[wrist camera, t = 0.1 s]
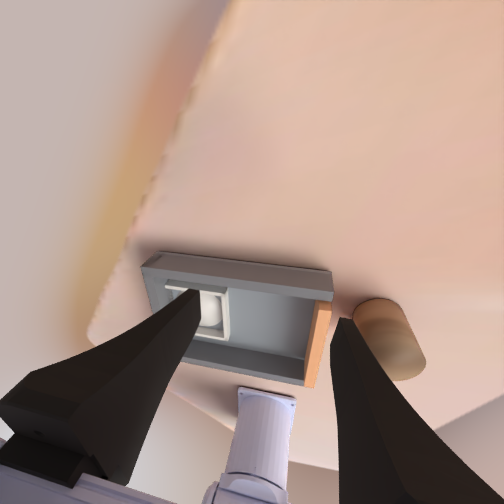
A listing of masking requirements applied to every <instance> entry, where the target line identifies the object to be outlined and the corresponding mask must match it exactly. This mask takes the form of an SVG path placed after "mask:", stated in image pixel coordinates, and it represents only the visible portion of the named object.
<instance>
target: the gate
mask: <svg viewBox="0 0 504 504" xmlns="http://www.w3.org/2000/svg"><path fill="white" fill-rule="evenodd" d="M331 314H332V307H331V302H329V301H322V300H315V305H314V311H313V316H312V322H311V327H310V333H309V338H308V344H307V349H306V355H305V360H304V386H305V387H309V388H314V386H315V382H316V378H317V373H318V369H319V365H320V361H321V356H322V352H323V348H324V344H325V339H326V335H327V331H328V327H329V322H330V318H331Z"/></svg>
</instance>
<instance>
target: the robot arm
mask: <svg viewBox="0 0 504 504" xmlns="http://www.w3.org/2000/svg"><path fill="white" fill-rule="evenodd" d="M200 321H201V302H200V290H195V289H190V288H189V289H187V290H186V291H185V292H183V293H182V294H181V295H179V296H178V297H177V298H175V299H174V300H173V301H171V302H170V303H169V304H167V305H166V306H165V307H163V308H162V309H160V310H159V311H158V312H156V313H155V314H153V315H152V316H150V317H149V318H147V319H146V320H144V321H143V322H141V323H140V324H138V325H136V326H135V327H133V328H131V329H130V330H128V331H126V332H124V333H123V334H121V335H119V336H117V337H115V338H113V339H111V340H109V341H107V342H105V343H103V344H101V345H99V346H97V347H95V348H92V349H90V350H88V351H85V352H83V353H81V354H79V355H76V356H73V357H71V358H69V359H66V360H63V361H61V362H58V363H55V364H52V365H49V366H47V367H44V368H41V369H38V370H35V371H32V372H30V373H29V374H28V375H27V376H26V377H24V378H23V380H21V381H20V382H19V383H18V384H17V385H16V386H15V387H14V388H13V389H11V390H10V391H9V393H7V394H6V395H5V396H4V397H3V398H2V399H1V400H0V417H1V418H2V420H3V421H4V422H5V423H6V424H7V425H8V426H9V427H10V428H11V429H12V430H13V432H14V433H15V434H13V436H12V437H11V438H10V439H9V440H8V441H5V440H4V439H2V438H0V504H176V503H173V502H170V501H167V500H164V499H161V498H158V497H155V496H152V495H149V494H146V493H143V492H140V491H137V490H134V489H131V488H128V487H125V486H126V485H127V484H128V483H129V481H130V478H131V475H132V472H133V469H134V467H135V464H136V461H137V459H138V456H139V453H140V451H141V448H142V445H143V443H144V440H145V438H146V435H147V433H148V430H149V428H150V425H151V422H152V420H153V418H154V415H155V413H156V411H157V408H158V406H159V403H160V401H161V399H162V397H163V394H164V392H165V390H166V388H167V385H168V383H169V381H170V379H171V377H172V375H173V373H174V372H175V370H176V368H177V366H178V364H179V363H180V361H181V359H182V357H183V355H184V354H185V352H186V350H187V348H188V347H189V345H190V343H191V341H192V339H193V337H194V335H195V333H196V331H197V328H198V326H199V323H200ZM330 368H331V376H332V384H333V391H334V399H335V407H336V415H337V426H338V453H339V504H504V499H503V498H502V497H501V496H500V495H498V494H497V493H496V492H495V491H494V490H493V489H492V488H491V487H490V486H489V485H488V484H487V483H485V482H484V481H483V480H482V479H481V478H480V477H479V476H478V475H477V474H476V473H475V472H474V471H473V470H471V469H470V468H469V467H468V466H467V465H466V464H465V463H464V462H463V461H462V460H461V459H460V458H459V457H458V456H457V455H456V454H455V453H454V452H453V451H452V450H451V449H450V448H449V447H448V446H447V445H446V444H445V443H444V442H443V441H442V440H441V439H440V438H439V437H438V436H437V434H435V432H434V431H433V430H432V429H431V428H430V427H429V426H428V425H427V423H426V422H425V421H424V420H423V419H422V418H421V417H420V416H419V415H418V413H417V412H416V411H415V410H414V409H413V408H412V406H411V405H410V404H409V403H408V402H407V400H406V399H405V398H404V397H403V395H402V394H401V393H400V392H399V390H398V389H397V388H396V386H395V385H394V384H393V382H392V381H391V379H390V378H389V377H388V375H387V374H386V372H385V371H384V369H383V368H382V367H381V365H380V364H379V362H378V360H377V359H376V357H375V356H374V354H373V353H372V351H371V350H370V348H369V346H368V345H367V343H366V341H365V340H364V338H363V336H362V334H361V333H360V331H359V329H358V327H357V326H356V324H355V322H354V321H353V320H352V319H346V318H341V317H340V318H339V321H338V324H337V327H336V330H335V333H334V335H333V338H332V341H331V344H330ZM295 407H296V399H295V398H291V397H287V396H282V395H277V394H272V393H268V392H263V391H258V390H254V389H249V388H244V387H239V388H238V413H239V414H238V418H237V423H236V427H235V431H234V436H233V440H232V444H231V448H230V452H229V456H228V461H227V465H226V469H225V473H222V474H221V478H220V482H217V481H214V482H213V484H212V485H211V486H209V487H208V489H207V491H206V493H205V495H204V498H203V501H202V504H292V503H288V492H287V491H286V485H287V470H288V469H287V468H288V454H289V438H290V435H291V429H292V424H293V418H294V413H295Z"/></svg>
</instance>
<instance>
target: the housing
mask: <svg viewBox="0 0 504 504" xmlns="http://www.w3.org/2000/svg"><path fill="white" fill-rule="evenodd" d="M140 267H141V271H142V274H143V278H144V282H145V285H146V289H147V293H148V297H149V300H150V304H151V308H152V312H153V314H155V313H156V312H158V311H159V310H160V309H162V308H163V307H165V306H166V305H167V304H169V303H170V302H171V301H173V300H174V299H175V298H177V297H178V296H179V295H181V294H182V293H183V292H185V291H186V290H187V289H189V288H190V289H195V290H200V302H201V321H200V323H199V326H198V328H197V331H196V333H195V335H194V337H193V339H192V341H191V343H190V345H189V347H188V348H187V350H186V352H185V354H184V355H183V357H182V359H181V361H180V362H185V363H190V364H195V365H200V366H205V367H210V368H215V369H220V370H225V371H229V372H234V373H239V374H244V375H249V376H254V377H259V378H264V379H269V380H274V381H279V382H284V383H289V384H294V385H299V386H304V360H305V355H306V349H307V344H308V338H309V333H310V327H311V322H312V316H313V311H314V305H315V300H322V301H329V302H332V299H333V295H334V287H333V280H332V273H331V272H329V271H321V270H313V269H304V268H296V267H287V266H279V265H270V264H262V263H254V262H245V261H237V260H228V259H220V258H212V257H203V256H195V255H186V254H178V253H170V252H161V251H157V252H156V253H155V254H154V255H153V256H152V257H150V258H149V259H148V260H147V261H146V262H145V263H144V264H143V265H142V266H140ZM304 387H305V386H304Z"/></svg>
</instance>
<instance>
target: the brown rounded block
mask: <svg viewBox="0 0 504 504" xmlns="http://www.w3.org/2000/svg"><path fill="white" fill-rule="evenodd" d="M353 321H354V322H355V324H356V326H357V327H358V329H359V331H360V333H361V334H362V336H363V338H364V340H365V341H366V343H367V345H368V346H369V348H370V350H371V351H372V353H373V354H374V356H375V357H376V359H377V360H378V362H379V364H380V365H381V367H382V368H383V369H384V371H385V372H386V374H387V375H388V377H389V378H390V379H391V381H402V380H407V379H411V378H413V377H415V376H417V375H419V374H420V373H421V372H422V371H423V370H424V368H425V366H426V359H425V357H424V355H423V353H422V350H421V348H420V346H419V344H418V342H417V340H416V338H415V336H414V333H413V331H412V329H411V327H410V325H409V323H408V321H407V319H406V316H405V314H404V312H403V310H402V308H401V307H400V306H399V305H398V304H396V303H395V302H393V301H390V300H386V299H372V300H368V301H366V302H363V303H362V304H360V305H359V306H358V307H357V308H356V309H355V311H354V313H353Z"/></svg>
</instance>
